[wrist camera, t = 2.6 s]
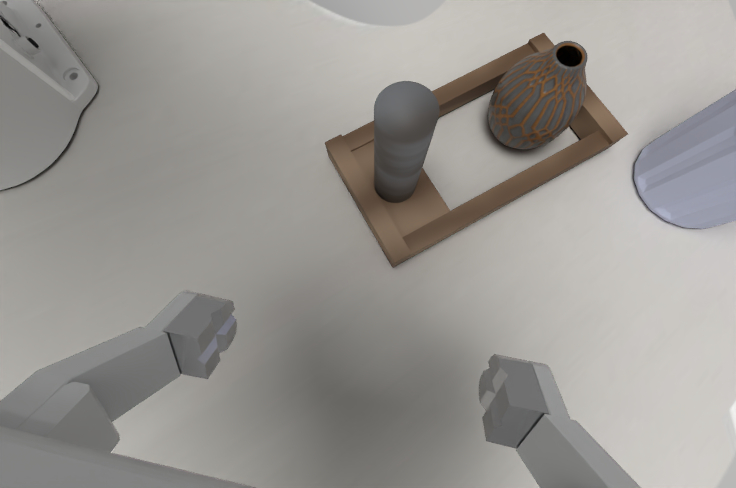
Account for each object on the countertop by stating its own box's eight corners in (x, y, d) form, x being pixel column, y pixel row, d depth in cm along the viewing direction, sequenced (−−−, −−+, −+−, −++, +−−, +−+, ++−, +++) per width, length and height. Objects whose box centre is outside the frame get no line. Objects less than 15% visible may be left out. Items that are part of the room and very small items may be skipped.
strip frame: (328, 156, 30) (299, 56, 18) (531, 53, 32) (620, -95, 20) (392, 267, 27) (406, 233, 16) (608, 148, 29) (758, 41, 18)
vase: (478, 95, 31) (518, 12, 23) (549, 98, 31) (616, 15, 22) (479, 158, 30) (521, 95, 21) (553, 162, 29) (626, 100, 21)
